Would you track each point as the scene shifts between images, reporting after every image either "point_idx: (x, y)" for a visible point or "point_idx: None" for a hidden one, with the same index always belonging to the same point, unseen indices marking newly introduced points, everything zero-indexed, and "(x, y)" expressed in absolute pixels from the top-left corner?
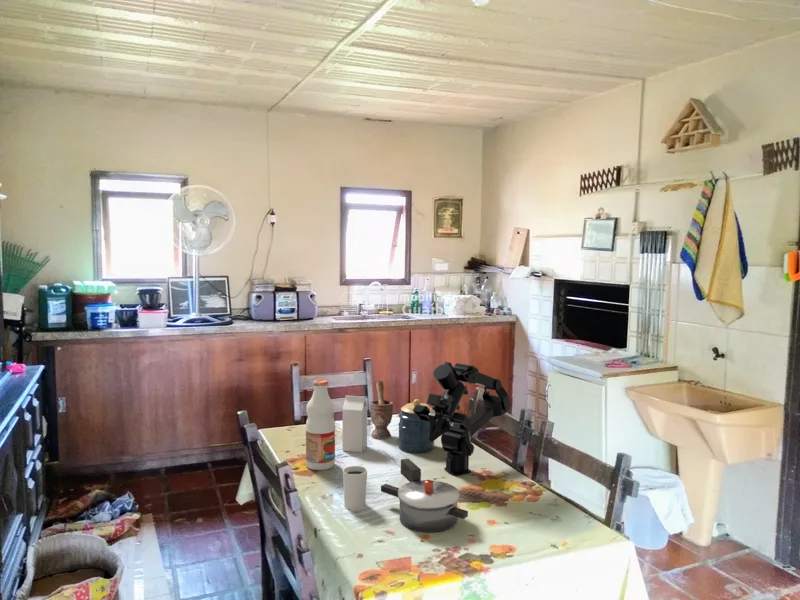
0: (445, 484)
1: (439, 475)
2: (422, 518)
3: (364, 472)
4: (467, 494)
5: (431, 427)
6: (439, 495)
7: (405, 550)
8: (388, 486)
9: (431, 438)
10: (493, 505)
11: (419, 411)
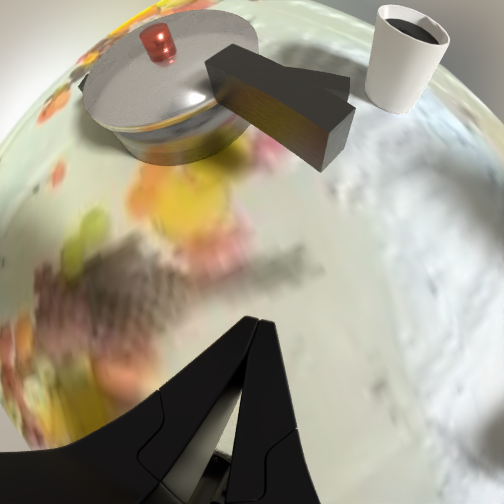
0: (121, 113)
1: None
2: None
3: (380, 14)
4: (123, 306)
5: (267, 451)
6: (131, 57)
7: None
8: (326, 80)
9: (235, 326)
10: (55, 261)
11: None
